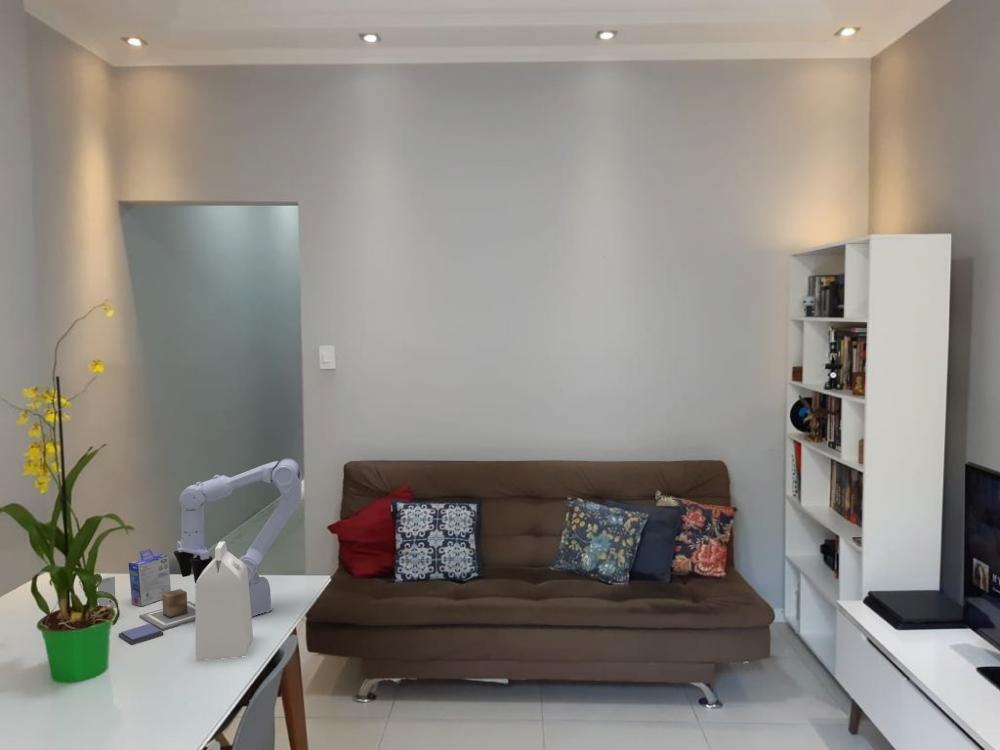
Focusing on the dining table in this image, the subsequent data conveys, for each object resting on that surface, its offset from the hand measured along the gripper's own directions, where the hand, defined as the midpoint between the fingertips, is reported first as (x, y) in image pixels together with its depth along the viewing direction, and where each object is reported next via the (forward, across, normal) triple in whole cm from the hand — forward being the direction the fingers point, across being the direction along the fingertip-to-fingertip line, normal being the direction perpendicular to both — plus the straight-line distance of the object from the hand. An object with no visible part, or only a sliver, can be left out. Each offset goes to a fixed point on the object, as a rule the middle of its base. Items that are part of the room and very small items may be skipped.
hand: (192, 579), depth 214 cm
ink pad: (+11, +2, -15) cm, 18 cm away
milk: (+10, +26, -4) cm, 28 cm away
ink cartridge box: (+11, -22, -2) cm, 25 cm away
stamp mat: (+11, -4, -3) cm, 12 cm away
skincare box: (+12, -17, -17) cm, 27 cm away
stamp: (+10, -4, -3) cm, 11 cm away
